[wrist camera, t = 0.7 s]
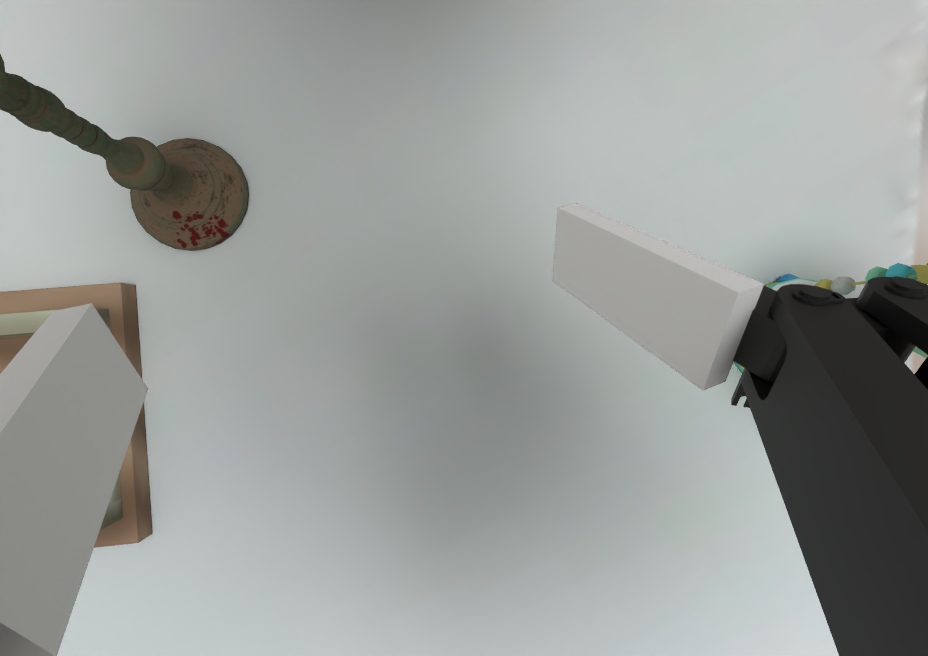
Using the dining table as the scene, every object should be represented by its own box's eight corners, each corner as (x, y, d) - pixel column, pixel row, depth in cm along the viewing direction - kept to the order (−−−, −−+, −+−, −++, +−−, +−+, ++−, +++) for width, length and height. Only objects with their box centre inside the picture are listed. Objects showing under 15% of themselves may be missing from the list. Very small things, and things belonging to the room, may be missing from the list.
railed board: (-100, 303, 32) (-166, 299, 29) (135, 285, 33) (98, 278, 30) (-86, 558, 32) (-152, 585, 28) (152, 533, 33) (117, 556, 29)
